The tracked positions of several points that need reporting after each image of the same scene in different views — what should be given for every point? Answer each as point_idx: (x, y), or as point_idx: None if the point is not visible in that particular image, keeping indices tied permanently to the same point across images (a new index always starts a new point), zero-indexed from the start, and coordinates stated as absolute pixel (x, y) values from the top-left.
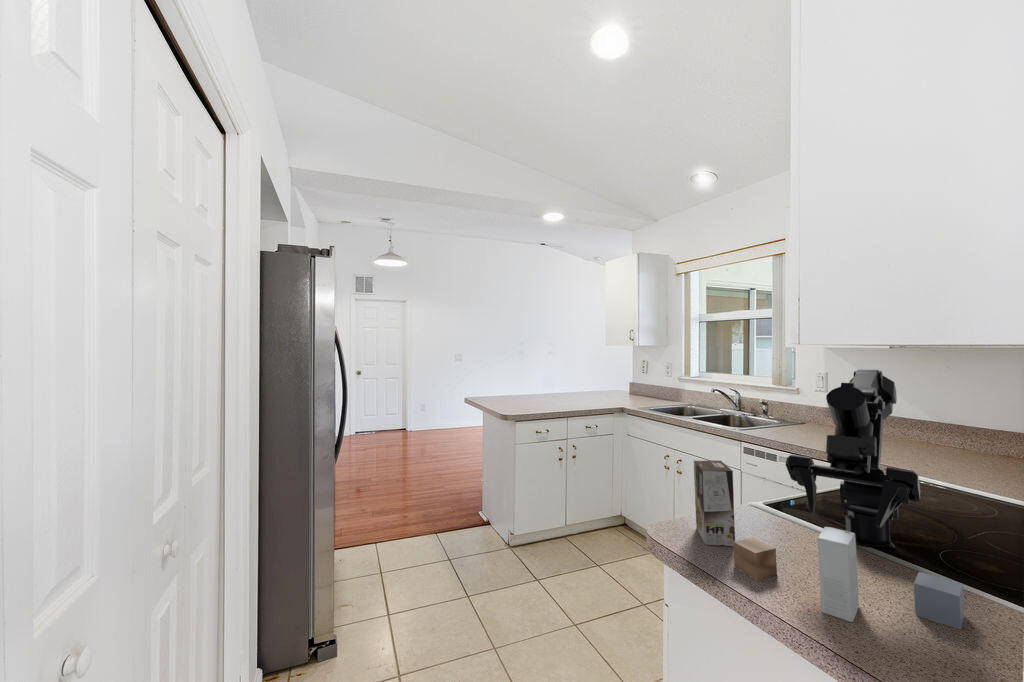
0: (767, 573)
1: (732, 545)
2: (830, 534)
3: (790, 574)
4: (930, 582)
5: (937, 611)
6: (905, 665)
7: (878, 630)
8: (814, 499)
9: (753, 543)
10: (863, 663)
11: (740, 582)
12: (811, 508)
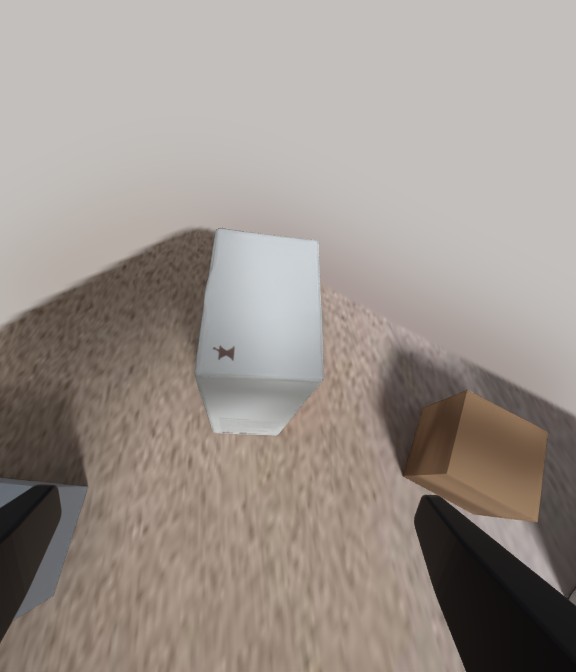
0: (417, 442)
1: (574, 593)
2: (285, 290)
3: (378, 505)
4: None
5: (23, 481)
6: (146, 265)
7: (178, 350)
8: (485, 632)
9: (507, 464)
10: (205, 238)
11: (441, 373)
12: (439, 502)
